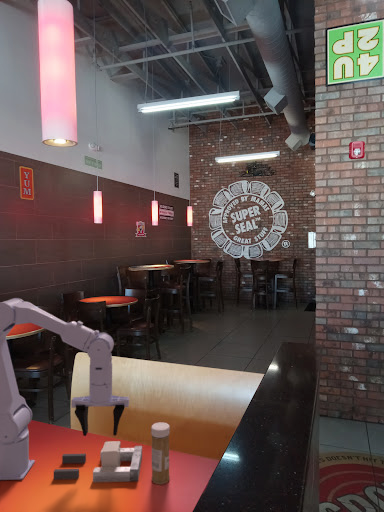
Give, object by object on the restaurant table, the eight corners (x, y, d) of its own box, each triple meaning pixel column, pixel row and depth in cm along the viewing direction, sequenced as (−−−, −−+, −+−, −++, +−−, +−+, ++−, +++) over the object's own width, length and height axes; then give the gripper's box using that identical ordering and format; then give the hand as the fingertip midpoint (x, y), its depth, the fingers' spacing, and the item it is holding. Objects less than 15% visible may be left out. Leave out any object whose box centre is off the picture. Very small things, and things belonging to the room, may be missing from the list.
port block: (92, 482, 91) (92, 470, 91) (101, 457, 102) (102, 446, 102) (137, 481, 91) (138, 469, 91) (142, 456, 102) (142, 445, 102)
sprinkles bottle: (173, 481, 91) (173, 426, 91) (156, 487, 89) (156, 431, 88) (164, 472, 95) (164, 419, 95) (148, 477, 92) (148, 424, 92)
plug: (101, 475, 94) (101, 451, 94) (105, 463, 99) (105, 441, 99) (117, 474, 94) (117, 451, 94) (120, 463, 99) (120, 441, 99)
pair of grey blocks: (53, 479, 92) (53, 471, 92) (63, 461, 100) (63, 454, 100) (78, 479, 92) (78, 471, 92) (85, 460, 100) (85, 453, 100)
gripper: (130, 376, 100) (130, 426, 100) (76, 376, 100) (76, 426, 100) (127, 385, 93) (127, 439, 93) (69, 386, 93) (68, 440, 93)
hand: (100, 433), depth 96 cm, fingers open, 7 cm apart
